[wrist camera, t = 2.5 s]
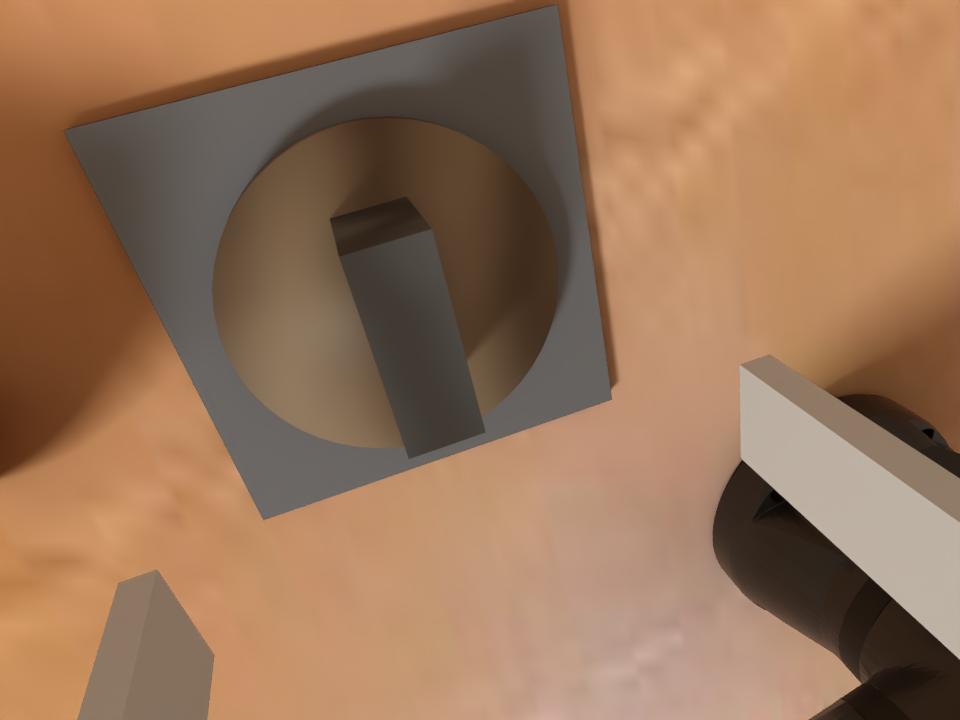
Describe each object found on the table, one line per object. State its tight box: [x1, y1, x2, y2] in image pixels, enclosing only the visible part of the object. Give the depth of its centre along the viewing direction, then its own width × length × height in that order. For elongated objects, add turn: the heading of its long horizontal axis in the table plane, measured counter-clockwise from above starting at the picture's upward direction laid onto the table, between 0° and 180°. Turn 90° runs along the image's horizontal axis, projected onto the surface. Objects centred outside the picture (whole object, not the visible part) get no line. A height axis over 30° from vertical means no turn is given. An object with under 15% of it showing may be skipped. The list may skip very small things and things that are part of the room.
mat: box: [64, 5, 612, 520], centre depth 27 cm, size 18×18×1 cm
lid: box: [212, 116, 559, 459], centre depth 24 cm, size 14×14×6 cm
